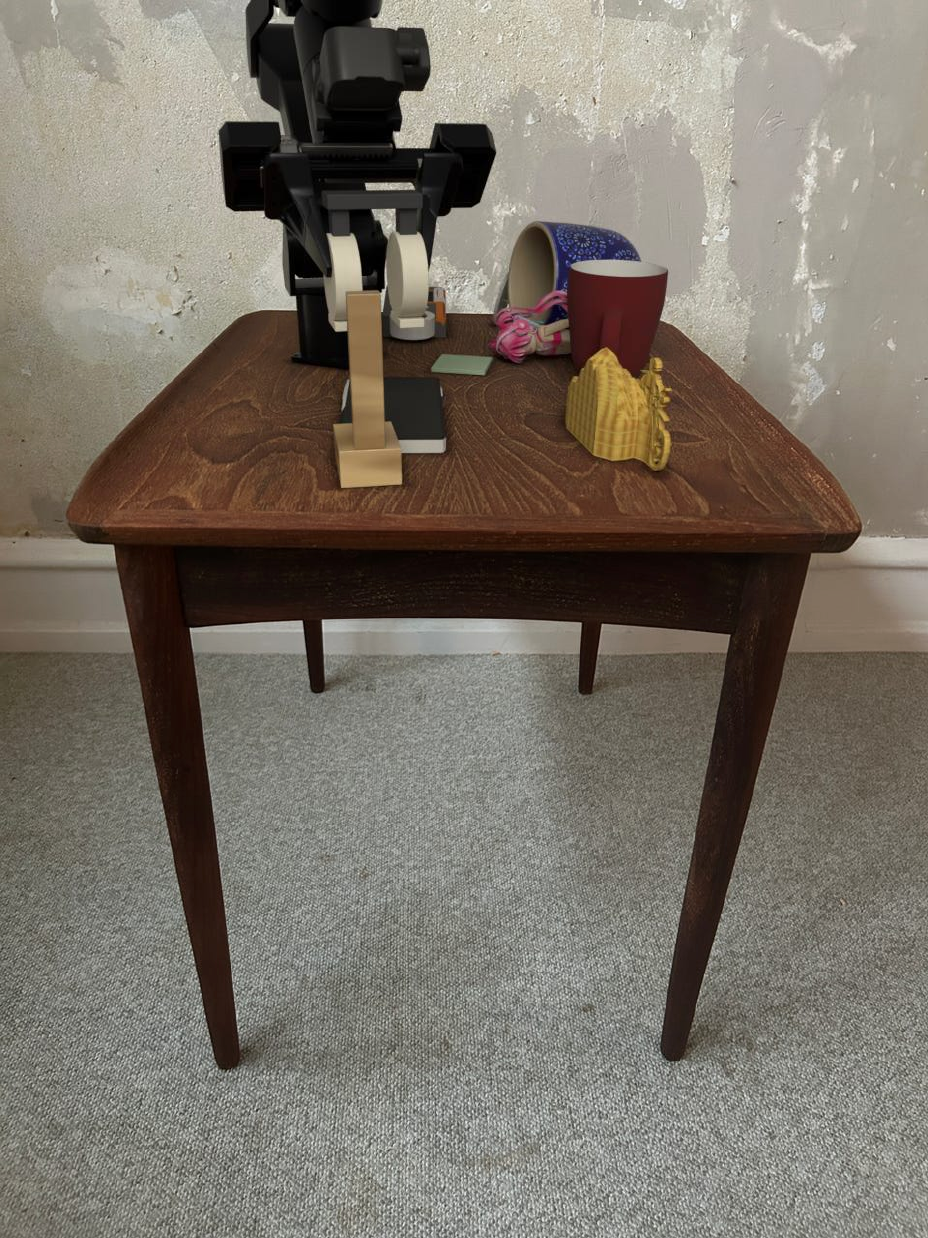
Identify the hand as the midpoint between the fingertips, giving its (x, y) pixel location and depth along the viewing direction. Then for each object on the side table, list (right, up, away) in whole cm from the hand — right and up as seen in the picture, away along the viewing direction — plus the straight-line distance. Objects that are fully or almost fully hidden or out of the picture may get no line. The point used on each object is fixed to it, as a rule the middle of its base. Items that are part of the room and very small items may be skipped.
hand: (378, 271), depth 59 cm
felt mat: (+6, 0, +22) cm, 23 cm away
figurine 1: (+10, +11, +36) cm, 39 cm away
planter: (+23, +11, +32) cm, 41 cm away
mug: (+18, -4, +16) cm, 25 cm away
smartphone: (0, -8, +9) cm, 12 cm away
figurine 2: (+17, -11, +5) cm, 21 cm away
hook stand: (-1, -13, 0) cm, 14 cm away
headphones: (0, -2, +3) cm, 4 cm away
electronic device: (0, +8, +36) cm, 37 cm away
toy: (+16, +2, +26) cm, 30 cm away
